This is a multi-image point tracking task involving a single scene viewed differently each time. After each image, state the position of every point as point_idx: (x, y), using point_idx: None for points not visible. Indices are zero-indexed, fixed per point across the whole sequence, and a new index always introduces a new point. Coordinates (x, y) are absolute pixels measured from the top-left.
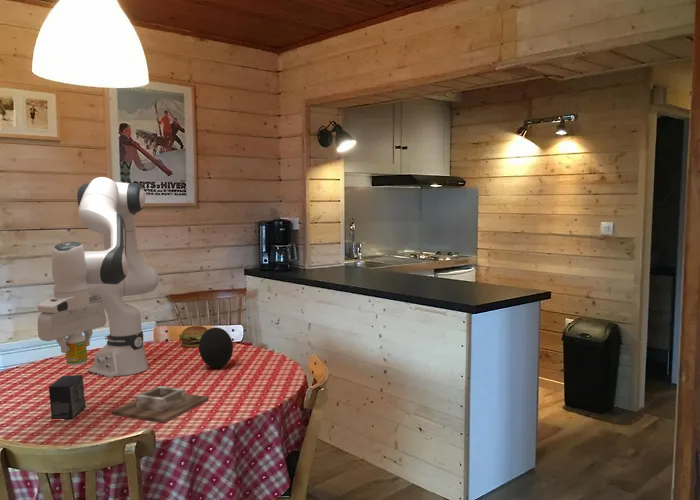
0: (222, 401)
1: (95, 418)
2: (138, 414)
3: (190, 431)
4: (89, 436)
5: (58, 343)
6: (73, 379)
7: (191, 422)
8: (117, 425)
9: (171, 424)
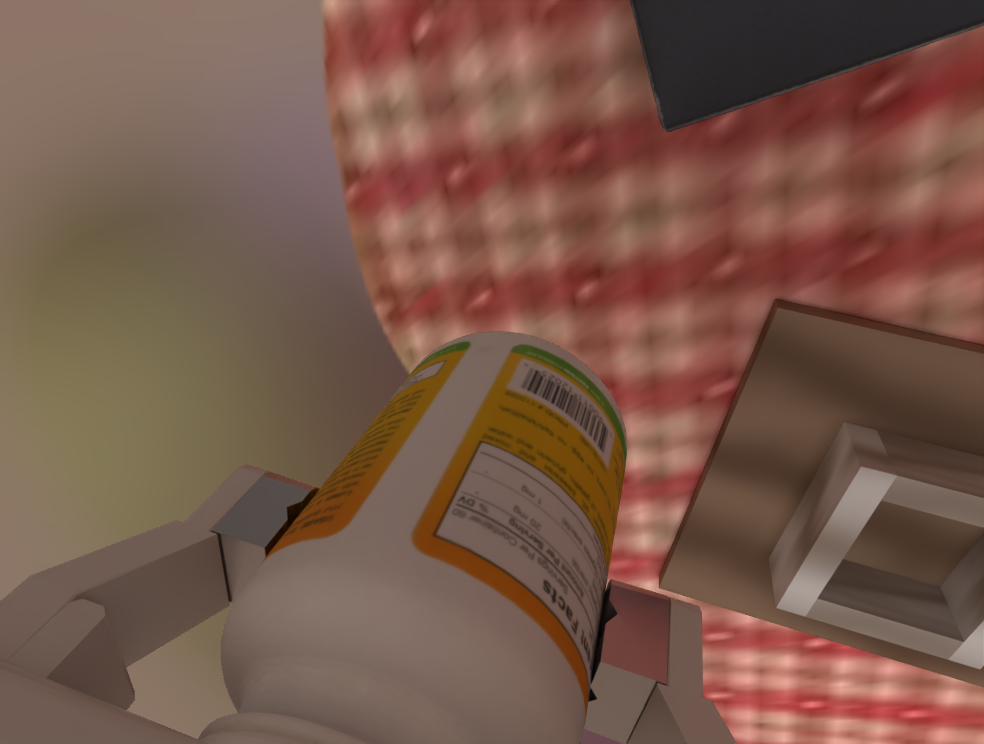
0: (956, 722)
1: (703, 238)
2: (720, 473)
3: None
4: None
5: (97, 559)
6: (876, 22)
7: None
8: None
9: None
